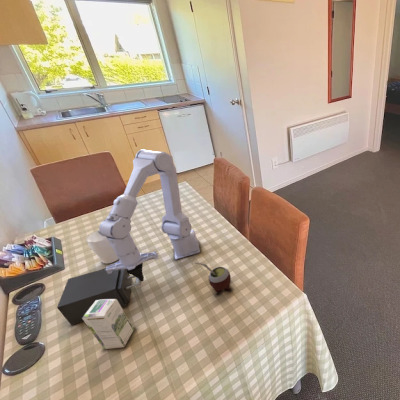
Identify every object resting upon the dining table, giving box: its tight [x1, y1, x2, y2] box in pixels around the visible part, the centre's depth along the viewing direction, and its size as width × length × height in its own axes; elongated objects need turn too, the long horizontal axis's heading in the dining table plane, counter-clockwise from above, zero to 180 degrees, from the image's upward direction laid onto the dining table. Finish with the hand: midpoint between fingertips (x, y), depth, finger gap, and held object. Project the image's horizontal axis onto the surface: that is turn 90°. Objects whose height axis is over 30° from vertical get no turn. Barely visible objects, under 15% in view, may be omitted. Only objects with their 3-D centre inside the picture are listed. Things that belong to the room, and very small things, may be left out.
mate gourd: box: [194, 262, 232, 296], centre depth 90 cm, size 8×8×15 cm
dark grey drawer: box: [117, 269, 142, 304], centre depth 90 cm, size 18×11×7 cm, turn 117°
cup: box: [85, 229, 119, 264], centre depth 106 cm, size 9×9×12 cm
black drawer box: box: [56, 267, 127, 326], centre depth 88 cm, size 15×13×9 cm
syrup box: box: [82, 299, 135, 350], centre depth 75 cm, size 6×6×14 cm
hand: (142, 279), depth 94 cm, fingers closed, pressing on dark grey drawer
